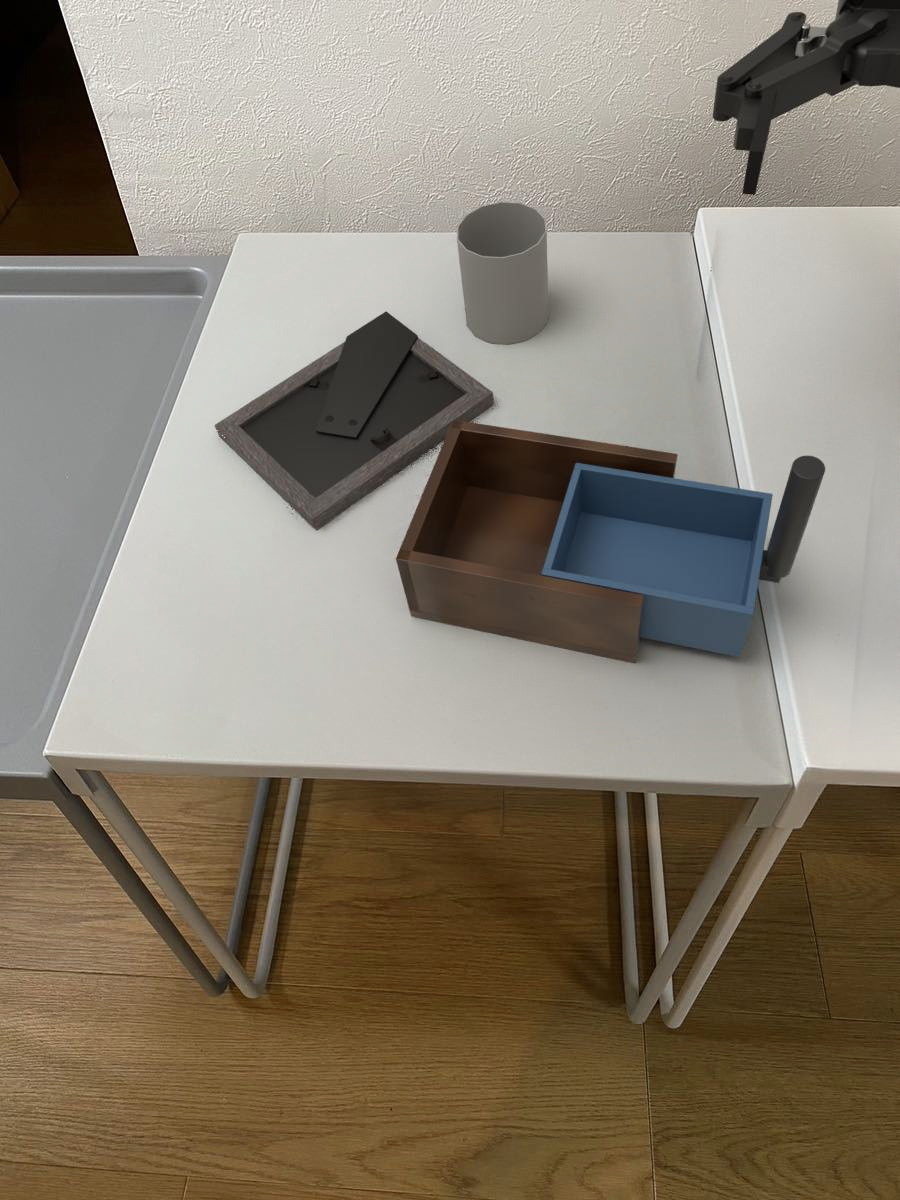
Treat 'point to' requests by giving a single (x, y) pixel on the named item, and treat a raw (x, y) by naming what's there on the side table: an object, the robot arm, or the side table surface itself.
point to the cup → (504, 271)
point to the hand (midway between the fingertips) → (876, 183)
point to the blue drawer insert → (681, 547)
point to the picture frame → (353, 418)
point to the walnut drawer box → (514, 540)
